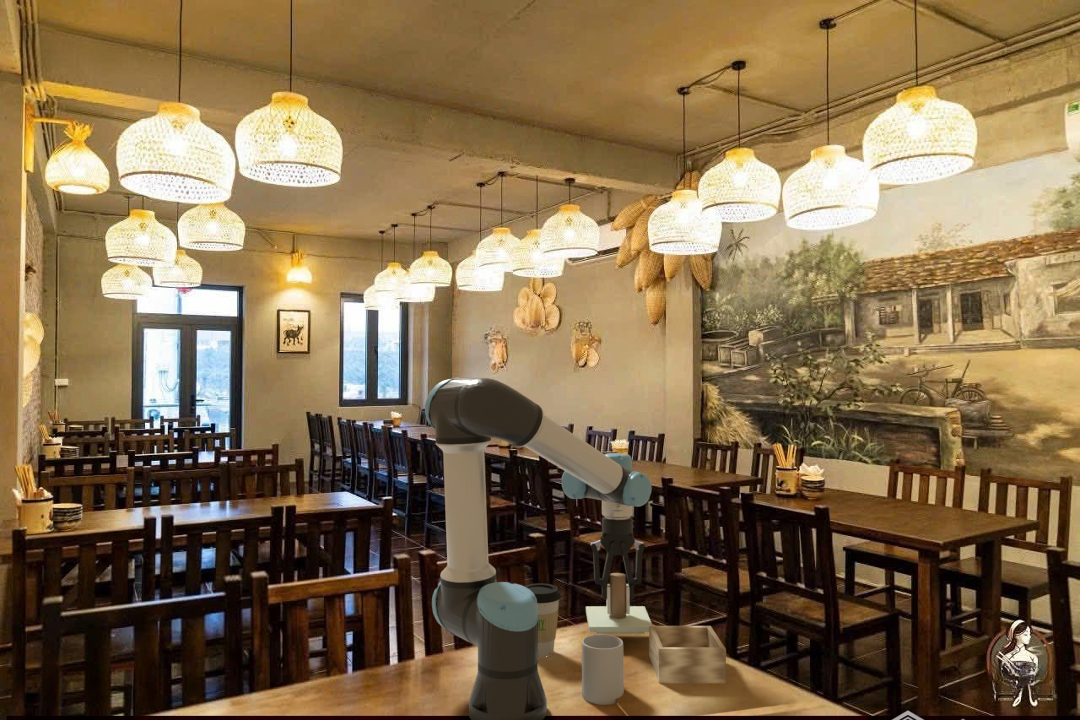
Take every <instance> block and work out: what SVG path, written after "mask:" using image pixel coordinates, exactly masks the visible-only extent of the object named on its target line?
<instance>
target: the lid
mask: <svg viewBox="0 0 1080 720" xmlns="http://www.w3.org/2000/svg"><path fill="white" fill-rule="evenodd" d="M626 584H627V574H625V573H622V572H621V573H620V572H613V573H610V574H609V585H610V611H611V614H607V609H606V606H605V605H604V606H601V605H600V606H599V605H598V606H592V605H591V606H585V614H586V620H587V627H588V632H589V633H596V634H595V635H597V634H605V635H611V634H612V635H613V634H619V635H620V634H621V635H622V634H624V635H625V634H627V635H628V634H631V635H632V634H635V635H636V634H642V635H643V634H645V633H649V626H654V625H653V623H652V621H651V619H650V617H649V614H648V611H647V609H646V606H643V605H641V606H640V605H639V606H635V605H633V606H632V605H630V614H626Z"/></svg>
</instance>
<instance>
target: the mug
mask: <svg viewBox="0 0 1080 720" xmlns="http://www.w3.org/2000/svg"><path fill="white" fill-rule="evenodd" d="M624 685H625V684H624V642H623V640H622V638H619V637H618V636H615V635H613V634H612V635H611V634H591V635H587V636H586V637H584V638H583V639H582V642H581V696H582V698H583V699H584V700H585V701H587V702H588V703H591V704H594V705H599V706H600V705H601V706H606V705H607V706H610V705H615V704H617V703H619V702H618V701H617V699H619V698H621V697H623V695H624V694H625V693H624V692H625V686H624Z"/></svg>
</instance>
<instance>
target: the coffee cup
mask: <svg viewBox="0 0 1080 720" xmlns="http://www.w3.org/2000/svg"><path fill="white" fill-rule="evenodd" d="M523 586H524V585H523ZM524 587H526V588H528V589H529V590H531V591H532V592H533V593H534V595H535V597H536V599H537V607H538V613H539V617H538V657H545V658H547V657H546V656H549V657H551V656H553V654H554V650H555V640H556V637H557V628H558V618H559V604H560V603H559V602H560V599H561V598H562V596H561V592H560V591H559V588H558V586H556V585H553V584H550V583H542V582H541V583H530V584H526V585H525V586H524ZM550 655H551V656H550Z"/></svg>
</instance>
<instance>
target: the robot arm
mask: <svg viewBox="0 0 1080 720" xmlns="http://www.w3.org/2000/svg"><path fill="white" fill-rule="evenodd" d="M424 413H425V418H426V421H427V423H428V424H429V426H431V427H432V428H433V429H434V437H435V445H436V446H437V448H439V449H440V450H441V451H442V454H443V478H444V479H443V480H444V506H445V530H446V531H445V532H446V534H445V537H446V556H447V557H446V562H447V565H446V567H445V568H444V569H443V570H441V572H440V581H439V582H438V584H437V587H436V588H435V589H434V591H433V594H432V598H431V607H432V613H433V616H434V618H435V620H436V622H437V623H438V624H439V625H440V627H442V628H443V629H444V630H445V631H447V632H448V633H449V634H451V635H452V636H456V637H458V638H461V639H462V640H464V641H466V642H468V643H470V644H472V645H473V646H476V647H477V674H476V677H475V680H474V683H473V686H472V690H471V693H470V696H469V699H468V716H469V718H470V720H544V719H545V717H546V716H547V713H548V712H547V711H548V710H547V709H548V705H547V704H548V703H547V702H548V699H547V696H546V693H545V690H544V686H543V684H542V680H541V677H540V674H539V670H538V667H539V665H538V662H539V661H538V659H539V658H538V617H539V613H538V607H537V599H536V597H535V595H534V593H533V592H532V591H531V590H529V589H528V588H526V587H524V585H522V584H518V583H511V582H506V581H497V570H496V568H495V567H494V566H493V565H492V564H491V563H489V546H488V545H489V543H488V517H487V492H486V491H487V487H486V462H485V460H486V459H485V450H486V448H487V447H488V446H489V444H491V443H492V439H496V440H501V441H503V442H506V443H508V444H510V445H511V446H513V447H515V448H522V447H524V448H527V449H528V450H529V451H531V452H532V453H534V454H536V455H538V456H539V457H541V458H543V459H545V460H546V461H548V462H549V463H551V464H552V465H554V466H556V467H558V468H559V469H561V470H562V471H564V472H563V474H562V475H561V487H562V491H563V493H564V494H565V495H566V497H568V498H569V499H572V500H575V499H576V500H578V499H579V500H582V499H585V498H587V499H594V500H598V501H601V515H602V516H603V517H602V518H601V536H600V538H599V540H596V541H591V542H590V547H591V550H592V554H593V555H592V556H593V577H594V578H593V579H594V583H595V584H596V585H600V586H601V598H602V600H606V609H607V614H611V611H610V583H609V580H610V574H611V573H610V572H611V568H612V563H613V559H614V556H620V557H621V556H622V558H623V559H622V560H623V564H624V570H625V573H626V574H625V575H626V580H627V583H626V614H630V606H631V605H630V600H634V598H635V586H636V585H640V584H642V580H643V579H642V578H643V577H642V573H643V572H642V571H643V552H644V550H645V548H646V546H645V543H644V542H643V541H639V540H636V539H635V537H634V532H633V531H634V529H633V528H634V527H633V525H634V523H633V522H634V521H633V520H634V519H633V518H632V516H633V514H634V513H633V507H642V506H644V505H645V504H647V503H648V501H649V500H650V497H651V494H652V482H651V479H650V478H649V476H648V475H647V474H645V473H643V472H639V471H636V470H633V463H632V462H633V461H632V460H633V459H632V457H631V455H630V454H627V453H620V452H616V453H615V452H613V453H612V452H608V453H602V452H601V451H600V450H598V449H597V448H596V447H593V446H592V445H590V444H589V443H588V442H586V441H585V440H583V439H582V438H580V437H579V436H577V435H575V434H574V433H572V432H571V431H569V430H568V429H566V428H565V427H563V426H561V425H560V424H559V423H557V422H555V421H554V420H553V419H551V418H549V417H548V416H546V415H545V413H544V410H543V408H542V407H541V406H540V405H539V404H537V403H536V402H534V401H533V400H531V398H529V397H527V396H526V395H524V394H523V393H521V392H519V391H518V390H516V389H514V388H512V387H511V386H509V385H507V384H505V383H504V382H501V381H499V380H498V379H493V378H490V377H489V378H487V377H478V378H477V377H474V378H469V377H468V378H467V377H466V378H465V377H454V378H449V379H445V380H442V381H440V382H439V383H437V384H436V385H434V387H433V388H432V389H431V390H430V391H429V394H428V395H427V398H426V399H425V405H424ZM601 545H602V547H603V549H604V550H605V551H606V557H605V563H604V567H603V573H602V578H601V574H600V572H601V571H600V556H599V551H601ZM633 546H634V549H635V575H634V576H635V577H633V573H632V568H631V564H630V563H631V562H630V557H629V554H628V553H629V552H630V550H631V548H632V547H633Z"/></svg>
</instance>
